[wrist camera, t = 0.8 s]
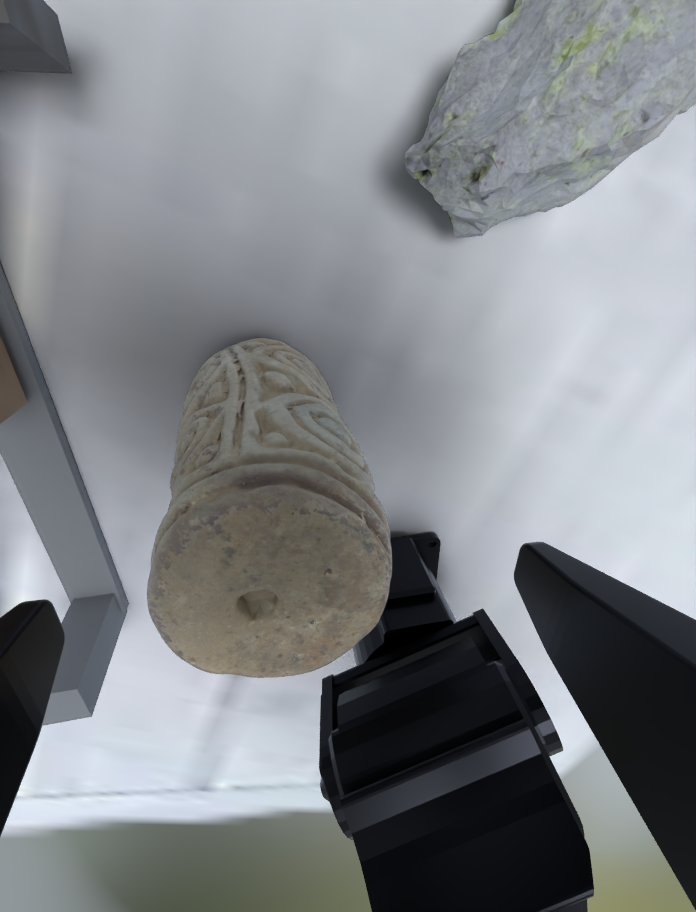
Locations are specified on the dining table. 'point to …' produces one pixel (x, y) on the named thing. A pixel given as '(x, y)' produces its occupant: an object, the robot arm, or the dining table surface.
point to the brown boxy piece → (26, 50)
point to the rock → (553, 105)
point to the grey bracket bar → (61, 528)
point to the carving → (267, 522)
